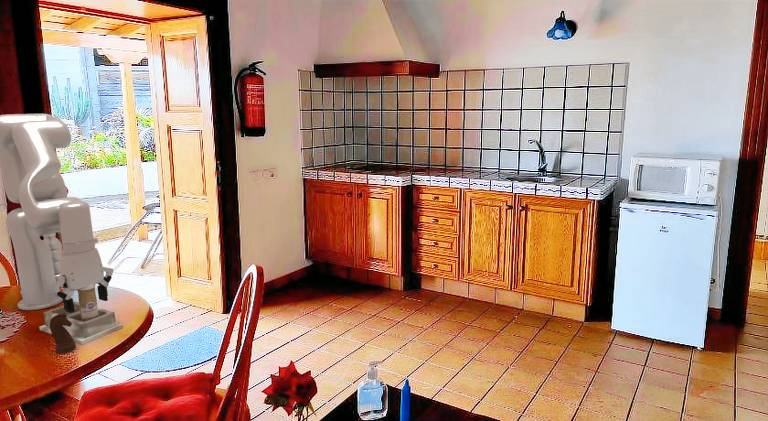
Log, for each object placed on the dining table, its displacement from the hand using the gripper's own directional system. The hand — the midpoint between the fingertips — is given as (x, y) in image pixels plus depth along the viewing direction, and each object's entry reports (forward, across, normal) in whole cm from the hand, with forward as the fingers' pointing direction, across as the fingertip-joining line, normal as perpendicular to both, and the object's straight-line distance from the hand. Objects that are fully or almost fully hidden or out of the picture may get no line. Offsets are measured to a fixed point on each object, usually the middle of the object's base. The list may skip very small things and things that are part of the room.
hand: (87, 305), depth 150 cm
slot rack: (+8, 0, -4) cm, 9 cm away
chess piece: (+8, +10, +4) cm, 14 cm away
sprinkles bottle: (+7, 0, 0) cm, 7 cm away
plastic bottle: (+8, -18, -48) cm, 51 cm away
